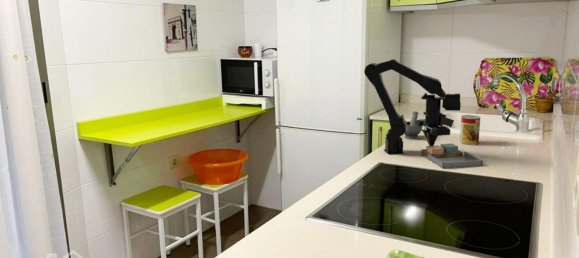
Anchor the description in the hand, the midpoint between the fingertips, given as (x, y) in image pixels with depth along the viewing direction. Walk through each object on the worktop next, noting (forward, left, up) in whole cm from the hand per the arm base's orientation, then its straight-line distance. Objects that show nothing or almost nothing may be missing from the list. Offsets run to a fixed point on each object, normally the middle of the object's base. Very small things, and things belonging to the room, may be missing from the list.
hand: (431, 147), depth 185 cm
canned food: (+24, +13, -3) cm, 28 cm away
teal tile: (+7, -2, -1) cm, 7 cm away
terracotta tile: (0, -3, -1) cm, 3 cm away
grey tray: (+3, -13, -3) cm, 13 cm away
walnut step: (+3, -2, -3) cm, 5 cm away
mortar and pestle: (+4, +29, -3) cm, 29 cm away
